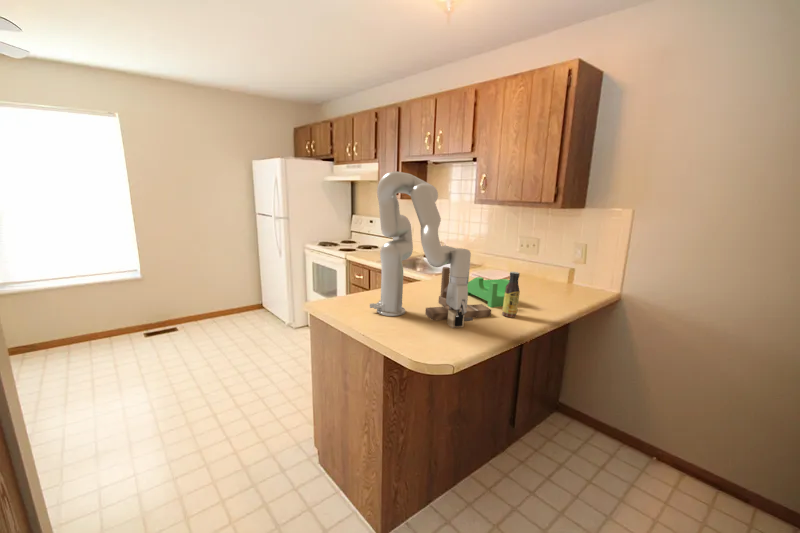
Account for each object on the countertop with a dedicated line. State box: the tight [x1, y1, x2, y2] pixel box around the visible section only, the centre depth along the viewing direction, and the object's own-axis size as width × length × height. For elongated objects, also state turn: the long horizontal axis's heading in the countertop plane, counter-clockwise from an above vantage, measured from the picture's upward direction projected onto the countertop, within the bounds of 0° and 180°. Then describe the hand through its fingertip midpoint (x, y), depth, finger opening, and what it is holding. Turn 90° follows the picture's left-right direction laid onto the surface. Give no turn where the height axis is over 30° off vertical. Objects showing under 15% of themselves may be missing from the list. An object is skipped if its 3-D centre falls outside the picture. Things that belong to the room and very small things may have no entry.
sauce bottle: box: [501, 271, 521, 318], centre depth 157 cm, size 7×6×20 cm
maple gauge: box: [446, 310, 474, 329], centre depth 144 cm, size 10×4×6 cm, turn 108°
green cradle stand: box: [468, 276, 510, 309], centre depth 182 cm, size 24×13×12 cm, turn 24°
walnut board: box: [424, 303, 492, 321], centre depth 156 cm, size 28×8×3 cm, turn 108°
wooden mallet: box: [438, 266, 450, 307], centre depth 167 cm, size 4×11×18 cm, turn 26°
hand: (455, 323), depth 144 cm, fingers closed on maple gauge, 4 cm apart
